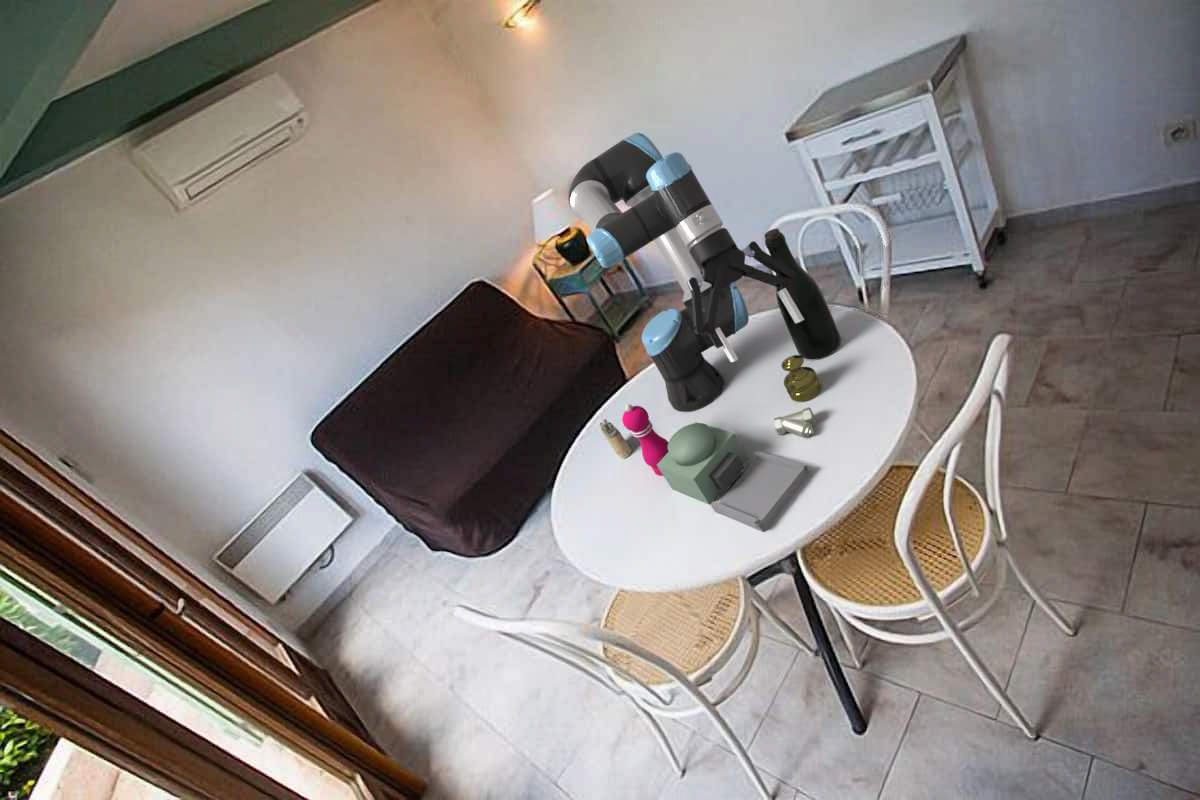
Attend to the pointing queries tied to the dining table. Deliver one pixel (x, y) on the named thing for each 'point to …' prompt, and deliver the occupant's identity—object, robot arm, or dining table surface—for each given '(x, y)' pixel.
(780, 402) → the dining table surface
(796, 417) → the pipe fitting
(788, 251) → the dark green wine bottle
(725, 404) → the dining table surface
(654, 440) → the pepper mill
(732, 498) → the tray
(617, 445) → the tan cylindrical piece
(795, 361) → the brass rounded piece
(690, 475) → the mower housing
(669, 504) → the dining table surface
